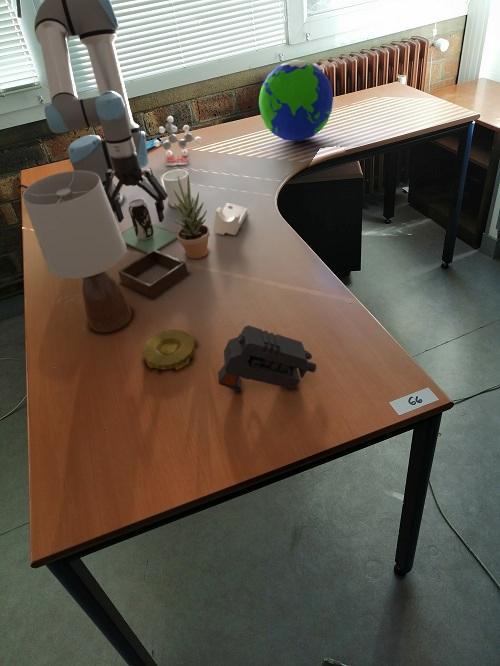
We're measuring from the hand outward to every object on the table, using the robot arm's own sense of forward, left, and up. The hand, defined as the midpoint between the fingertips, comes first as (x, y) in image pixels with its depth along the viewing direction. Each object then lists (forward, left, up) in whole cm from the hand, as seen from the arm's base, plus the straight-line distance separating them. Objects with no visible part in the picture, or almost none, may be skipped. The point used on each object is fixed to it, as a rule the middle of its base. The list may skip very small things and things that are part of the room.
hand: (141, 220), depth 158 cm
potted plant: (+21, +2, -7) cm, 22 cm away
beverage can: (0, 0, -6) cm, 6 cm away
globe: (-5, +89, -7) cm, 89 cm away
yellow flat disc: (+47, -33, -7) cm, 58 cm away
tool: (+72, -27, -7) cm, 77 cm away
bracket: (+19, +21, -7) cm, 29 cm away
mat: (0, 0, -6) cm, 6 cm away
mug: (-9, +23, -7) cm, 25 cm away
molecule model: (-37, +50, -7) cm, 62 cm away
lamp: (+24, -33, -7) cm, 41 cm away
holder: (+20, -14, -6) cm, 25 cm away
